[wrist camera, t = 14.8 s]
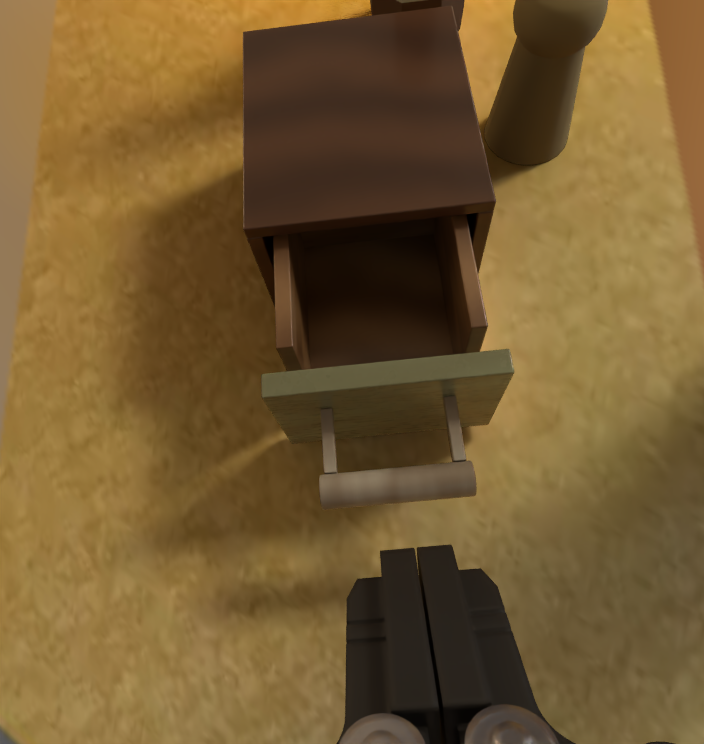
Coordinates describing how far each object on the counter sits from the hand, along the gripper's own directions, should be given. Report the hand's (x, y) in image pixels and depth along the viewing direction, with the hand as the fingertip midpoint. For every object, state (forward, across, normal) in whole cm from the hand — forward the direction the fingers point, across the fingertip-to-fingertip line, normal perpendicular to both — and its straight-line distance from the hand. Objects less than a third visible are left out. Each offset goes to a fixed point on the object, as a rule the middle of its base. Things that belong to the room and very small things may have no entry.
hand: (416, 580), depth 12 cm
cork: (+36, -12, -8) cm, 39 cm away
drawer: (+22, 0, +4) cm, 23 cm away
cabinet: (+31, 0, -4) cm, 31 cm away
